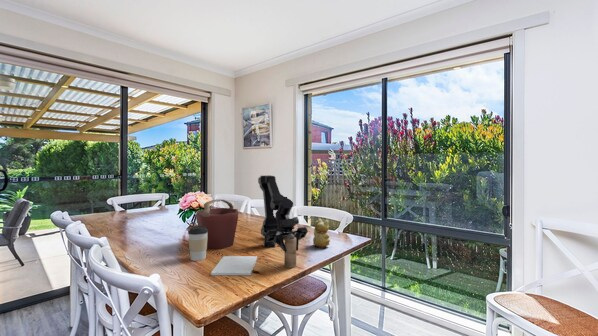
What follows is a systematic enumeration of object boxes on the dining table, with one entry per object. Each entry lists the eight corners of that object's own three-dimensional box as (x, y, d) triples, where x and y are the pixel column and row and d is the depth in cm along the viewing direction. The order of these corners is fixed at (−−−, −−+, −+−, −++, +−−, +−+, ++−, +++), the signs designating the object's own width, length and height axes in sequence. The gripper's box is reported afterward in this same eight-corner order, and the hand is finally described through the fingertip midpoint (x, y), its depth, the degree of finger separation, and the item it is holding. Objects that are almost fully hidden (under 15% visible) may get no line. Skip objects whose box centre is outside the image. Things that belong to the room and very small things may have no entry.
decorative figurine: (332, 246, 153) (332, 218, 153) (325, 250, 146) (325, 221, 146) (316, 243, 158) (316, 217, 158) (309, 247, 151) (309, 219, 151)
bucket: (210, 254, 139) (210, 204, 139) (185, 246, 152) (185, 200, 152) (247, 243, 159) (247, 199, 158) (222, 236, 172) (222, 195, 171)
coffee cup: (188, 256, 136) (188, 225, 136) (207, 254, 139) (207, 224, 139) (187, 262, 128) (187, 229, 127) (208, 260, 131) (208, 228, 131)
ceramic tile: (223, 258, 134) (223, 256, 134) (257, 258, 134) (257, 256, 134) (210, 275, 114) (210, 272, 114) (250, 275, 114) (250, 272, 114)
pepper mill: (284, 263, 127) (284, 232, 126) (296, 263, 127) (296, 232, 126) (284, 268, 122) (284, 235, 121) (296, 268, 122) (296, 235, 121)
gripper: (267, 212, 124) (275, 244, 114) (306, 209, 131) (316, 239, 121) (262, 226, 131) (269, 257, 121) (299, 222, 138) (308, 252, 128)
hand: (291, 251), depth 123 cm, fingers closed on pepper mill, 5 cm apart
